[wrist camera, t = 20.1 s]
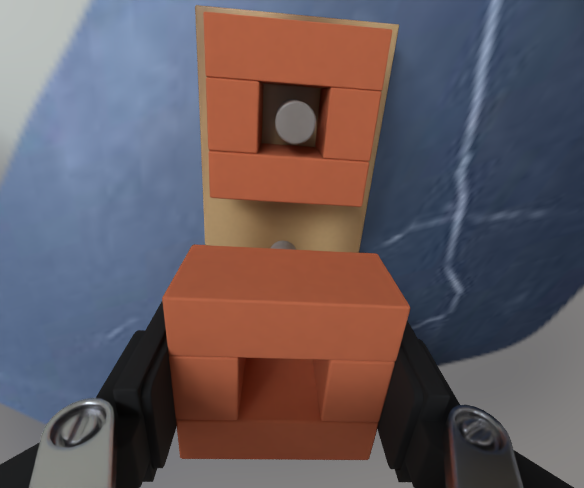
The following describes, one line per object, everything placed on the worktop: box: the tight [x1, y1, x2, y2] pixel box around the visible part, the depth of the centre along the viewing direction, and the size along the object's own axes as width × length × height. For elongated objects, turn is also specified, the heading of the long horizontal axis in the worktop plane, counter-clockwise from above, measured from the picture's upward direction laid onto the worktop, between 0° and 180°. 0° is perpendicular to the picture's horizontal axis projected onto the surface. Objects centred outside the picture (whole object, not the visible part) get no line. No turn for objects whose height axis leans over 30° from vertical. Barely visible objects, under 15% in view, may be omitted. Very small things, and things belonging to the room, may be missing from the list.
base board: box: [195, 5, 399, 253], centre depth 15 cm, size 8×14×5 cm, turn 176°
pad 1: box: [203, 12, 392, 207], centre depth 13 cm, size 6×6×3 cm
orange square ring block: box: [162, 245, 410, 460], centre depth 10 cm, size 6×6×3 cm
